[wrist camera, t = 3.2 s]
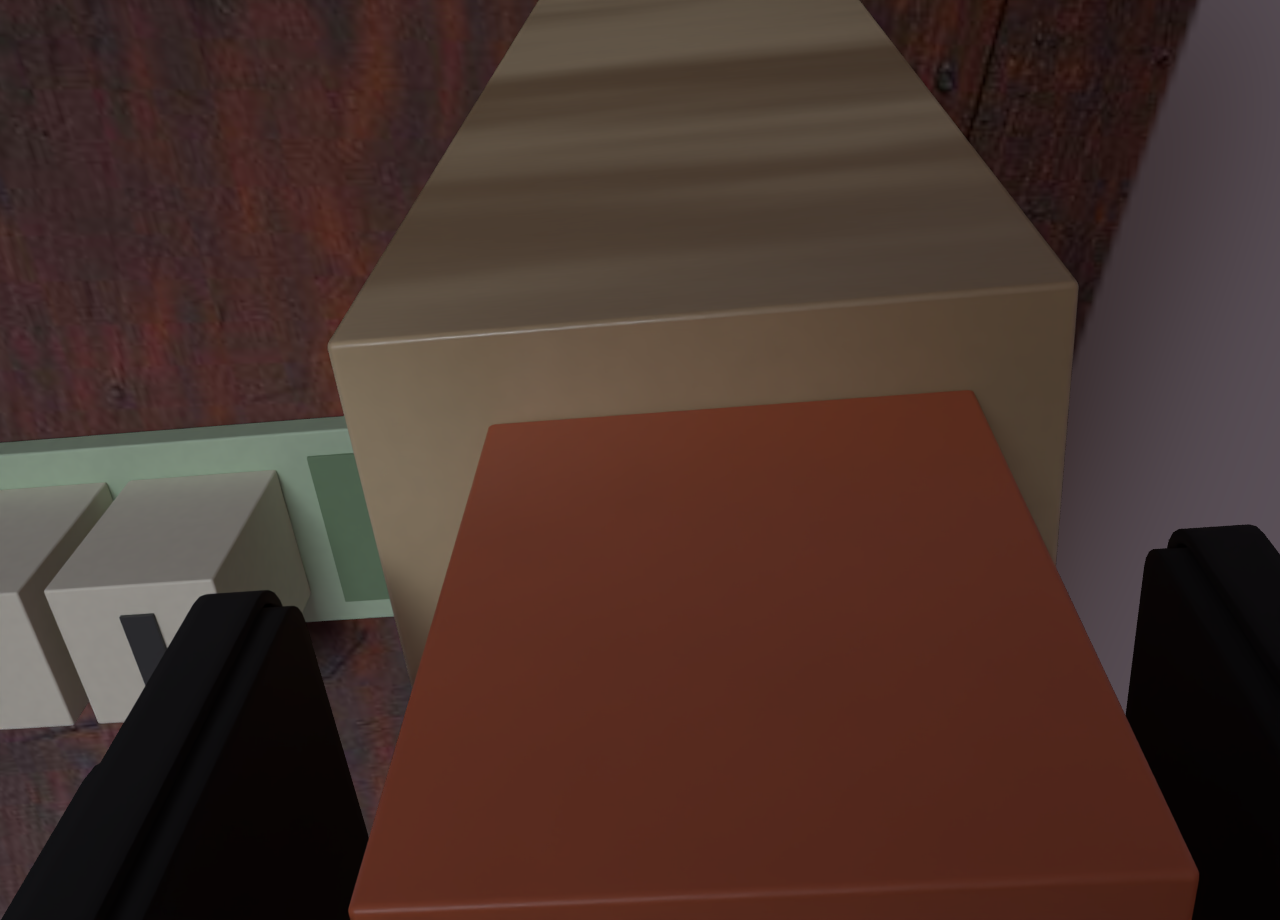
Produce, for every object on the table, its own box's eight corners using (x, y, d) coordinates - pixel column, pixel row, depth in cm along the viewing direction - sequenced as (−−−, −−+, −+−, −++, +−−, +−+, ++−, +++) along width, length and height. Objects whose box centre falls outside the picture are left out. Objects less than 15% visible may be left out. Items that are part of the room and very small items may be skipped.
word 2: (547, -17, 26) (32, 815, 5) (825, -45, 26) (1439, 739, 5) (618, 525, 33) (510, 1819, 12) (839, 510, 33) (1119, 1826, 12)
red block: (487, 421, 10) (337, 930, 6) (974, 386, 10) (1213, 892, 5) (551, 776, 12) (475, 1357, 8) (957, 755, 12) (1125, 1347, 7)
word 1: (-48, 445, 33) (-184, 572, 27) (505, 402, 31) (470, 526, 26) (30, 624, 35) (-80, 768, 30) (538, 591, 34) (512, 735, 29)
